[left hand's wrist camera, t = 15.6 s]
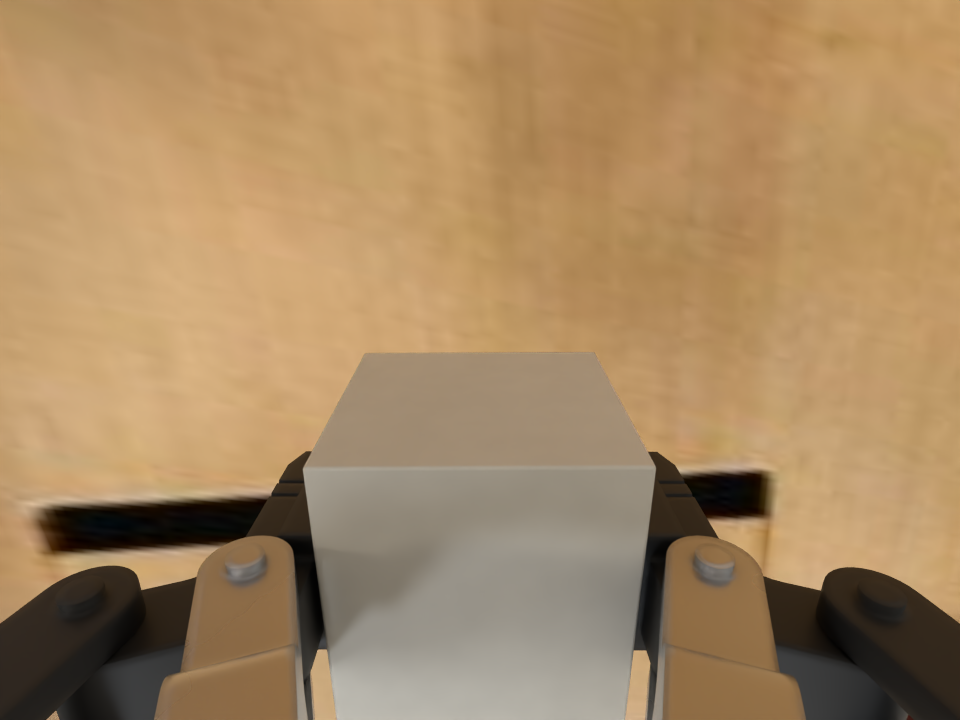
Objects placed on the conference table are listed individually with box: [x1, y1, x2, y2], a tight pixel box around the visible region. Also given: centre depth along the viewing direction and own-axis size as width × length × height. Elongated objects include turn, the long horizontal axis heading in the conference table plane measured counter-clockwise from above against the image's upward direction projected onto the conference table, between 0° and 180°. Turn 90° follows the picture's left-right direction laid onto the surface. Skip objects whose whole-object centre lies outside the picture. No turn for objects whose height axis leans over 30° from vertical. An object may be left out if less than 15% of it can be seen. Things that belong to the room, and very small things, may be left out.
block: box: [303, 352, 656, 720], centre depth 10 cm, size 5×5×4 cm
